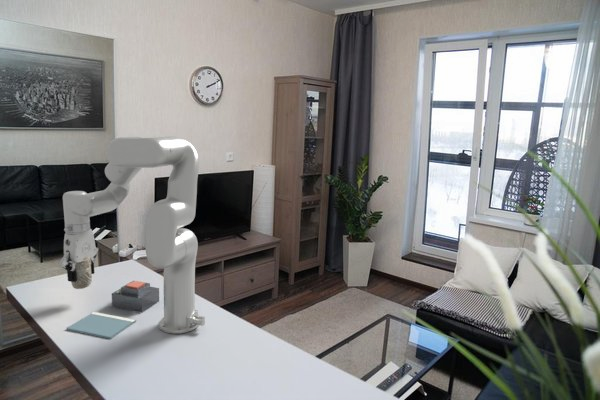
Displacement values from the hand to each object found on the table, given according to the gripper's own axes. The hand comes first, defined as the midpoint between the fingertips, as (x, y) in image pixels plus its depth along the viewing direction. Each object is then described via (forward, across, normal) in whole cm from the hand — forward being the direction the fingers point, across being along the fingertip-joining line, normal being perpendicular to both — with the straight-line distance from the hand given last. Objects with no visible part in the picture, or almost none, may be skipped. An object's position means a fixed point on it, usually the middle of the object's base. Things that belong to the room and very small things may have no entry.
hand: (81, 276), depth 149 cm
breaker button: (+5, +6, -17) cm, 19 cm away
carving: (+4, 0, 0) cm, 4 cm away
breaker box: (+10, +6, -17) cm, 21 cm away
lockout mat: (+10, -11, -17) cm, 23 cm away
